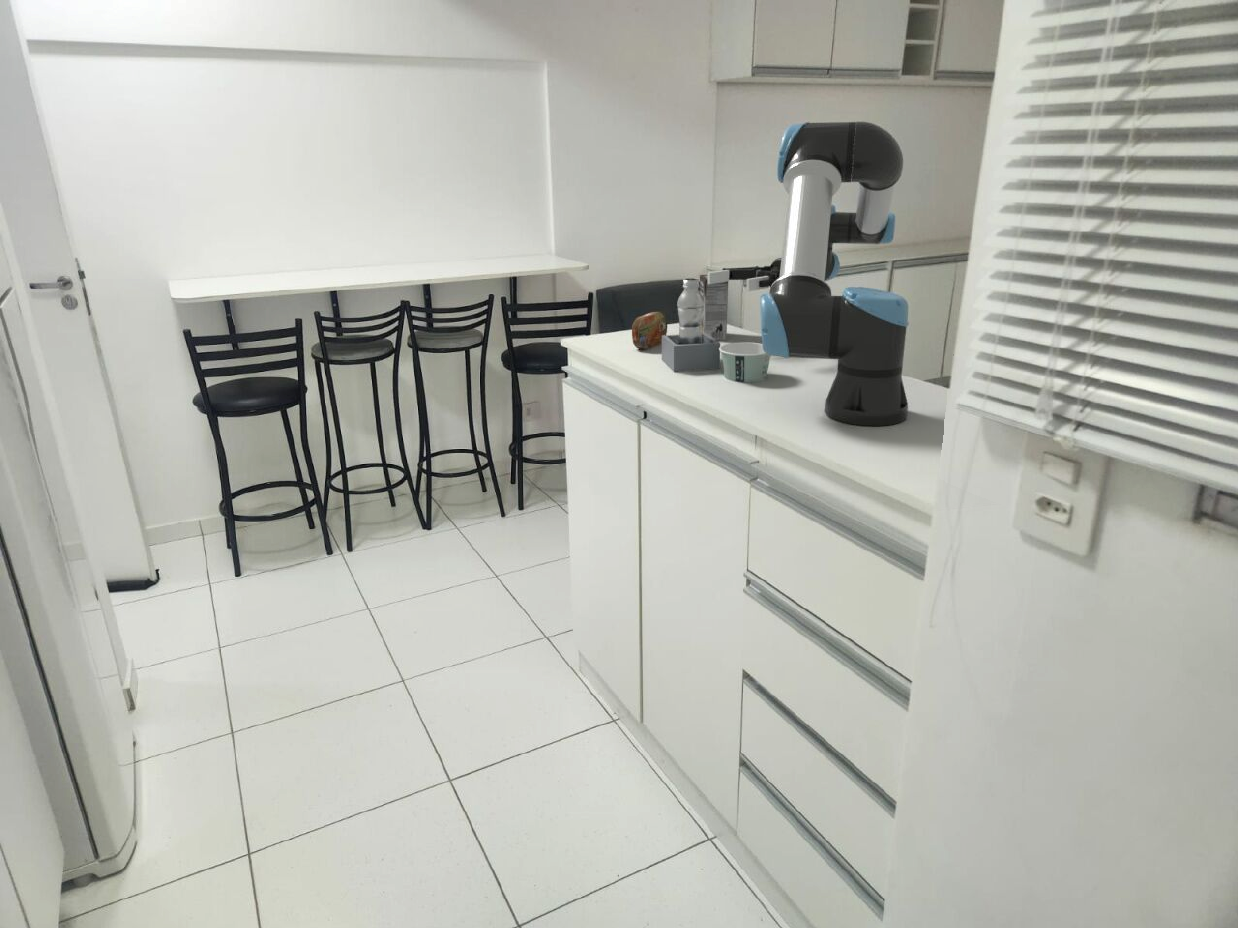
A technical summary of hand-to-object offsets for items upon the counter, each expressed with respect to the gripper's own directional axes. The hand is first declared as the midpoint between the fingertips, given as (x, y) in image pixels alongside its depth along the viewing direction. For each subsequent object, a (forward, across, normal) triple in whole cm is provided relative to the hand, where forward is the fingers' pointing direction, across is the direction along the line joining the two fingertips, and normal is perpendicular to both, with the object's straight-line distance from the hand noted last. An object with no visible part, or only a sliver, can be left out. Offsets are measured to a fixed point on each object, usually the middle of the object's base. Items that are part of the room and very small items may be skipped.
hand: (727, 281), depth 192 cm
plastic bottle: (+12, 0, -18) cm, 22 cm away
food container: (+10, -17, -18) cm, 27 cm away
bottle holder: (+12, 0, -18) cm, 22 cm away
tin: (+7, +22, -19) cm, 29 cm away
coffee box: (-13, +19, -19) cm, 30 cm away
